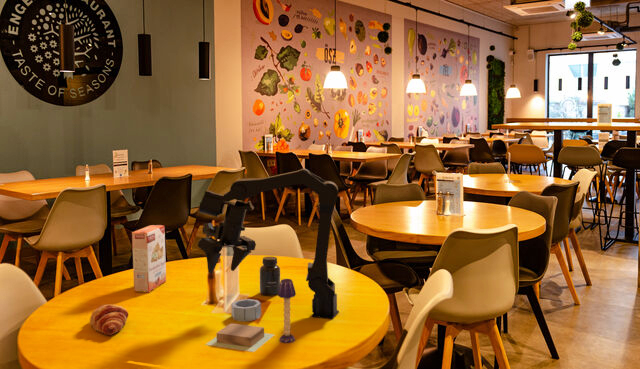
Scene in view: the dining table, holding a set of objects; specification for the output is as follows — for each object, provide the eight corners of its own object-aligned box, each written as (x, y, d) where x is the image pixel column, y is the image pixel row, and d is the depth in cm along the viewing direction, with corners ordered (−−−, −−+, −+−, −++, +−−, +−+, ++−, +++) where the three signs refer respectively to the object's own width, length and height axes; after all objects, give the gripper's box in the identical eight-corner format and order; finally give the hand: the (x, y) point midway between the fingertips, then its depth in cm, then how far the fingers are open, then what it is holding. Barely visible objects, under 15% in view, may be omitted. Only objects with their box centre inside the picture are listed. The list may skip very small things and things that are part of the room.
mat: (274, 336, 151) (274, 334, 151) (253, 353, 139) (253, 351, 139) (229, 329, 156) (229, 328, 156) (205, 346, 144) (205, 344, 144)
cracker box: (150, 293, 190) (147, 232, 188) (133, 292, 191) (130, 232, 189) (167, 281, 204) (165, 224, 201) (152, 280, 205) (149, 224, 202)
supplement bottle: (271, 297, 184) (270, 261, 182) (255, 293, 188) (254, 258, 187) (284, 292, 189) (284, 257, 188) (269, 288, 193) (268, 254, 192)
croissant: (96, 327, 169) (81, 306, 166) (126, 307, 172) (112, 286, 170) (103, 351, 150) (86, 328, 148) (137, 328, 153) (121, 305, 151)
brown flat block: (264, 336, 149) (264, 327, 149) (251, 347, 142) (250, 337, 142) (231, 332, 153) (230, 323, 152) (216, 342, 146) (216, 332, 146)
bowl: (264, 315, 167) (264, 300, 167) (252, 324, 160) (251, 309, 159) (241, 312, 170) (240, 298, 170) (227, 321, 163) (227, 306, 162)
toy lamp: (300, 341, 147) (299, 279, 145) (287, 347, 143) (286, 283, 141) (287, 337, 150) (286, 276, 148) (274, 342, 146) (273, 280, 144)
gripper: (236, 213, 176) (224, 260, 178) (191, 212, 161) (179, 264, 163) (262, 224, 170) (249, 272, 172) (217, 224, 155) (205, 278, 156)
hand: (221, 271), depth 166 cm, fingers open, 9 cm apart
